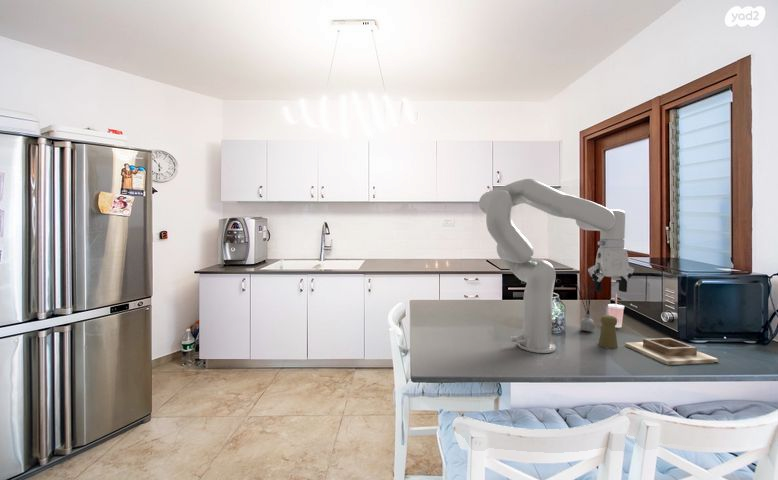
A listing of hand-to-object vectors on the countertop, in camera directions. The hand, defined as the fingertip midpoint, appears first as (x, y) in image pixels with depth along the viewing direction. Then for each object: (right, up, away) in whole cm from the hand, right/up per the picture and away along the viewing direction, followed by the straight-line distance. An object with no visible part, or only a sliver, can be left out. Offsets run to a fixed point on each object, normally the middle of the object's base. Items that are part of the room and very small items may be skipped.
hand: (610, 291), depth 136 cm
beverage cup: (+18, -19, +27) cm, 37 cm away
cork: (0, -20, +1) cm, 20 cm away
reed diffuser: (+1, -19, +19) cm, 27 cm away
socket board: (+16, -20, -7) cm, 27 cm away
